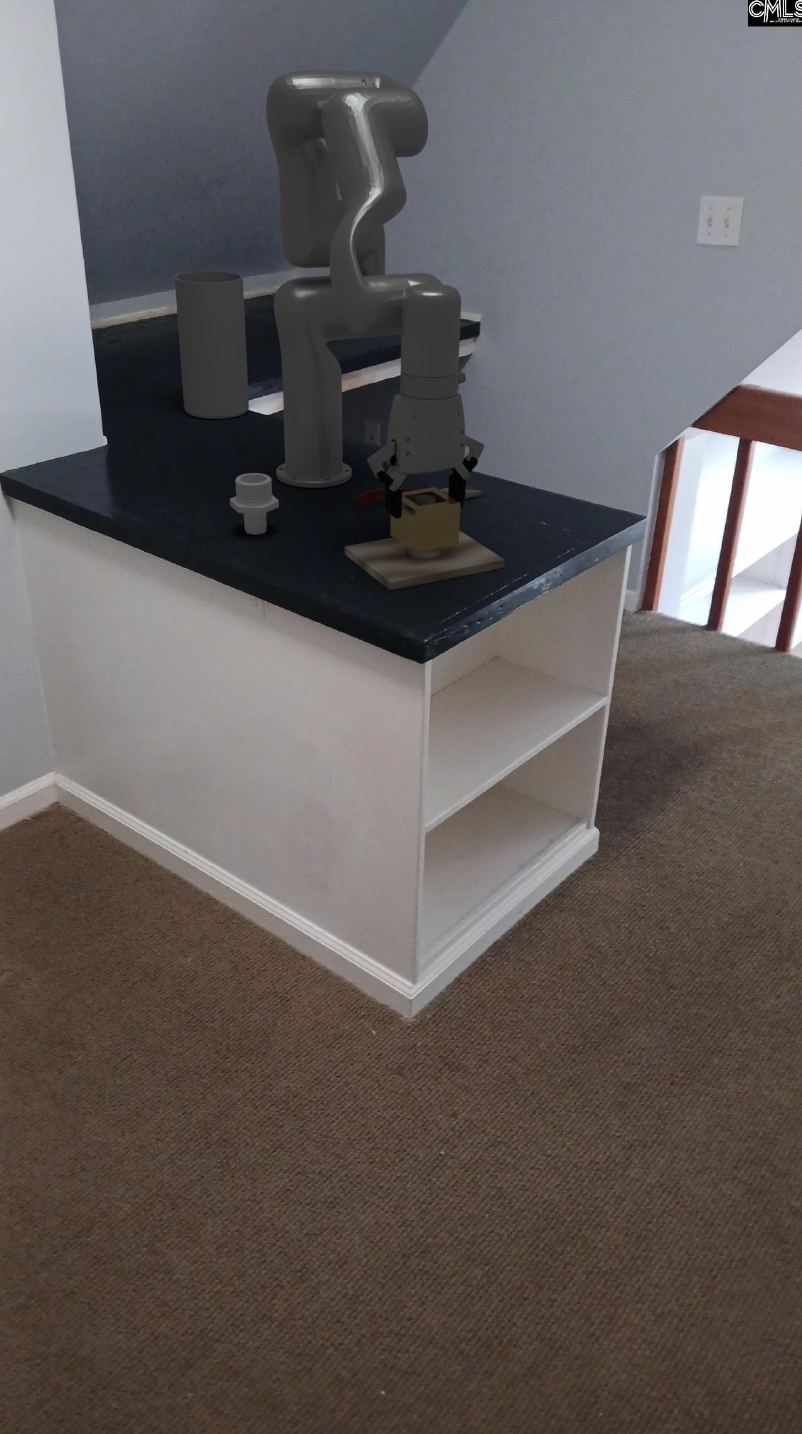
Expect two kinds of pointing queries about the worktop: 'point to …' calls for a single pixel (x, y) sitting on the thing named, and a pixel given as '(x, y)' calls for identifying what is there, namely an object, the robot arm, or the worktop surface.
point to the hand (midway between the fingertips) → (425, 510)
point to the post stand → (422, 559)
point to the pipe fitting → (254, 501)
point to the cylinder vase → (212, 343)
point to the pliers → (379, 494)
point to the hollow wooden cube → (427, 521)
